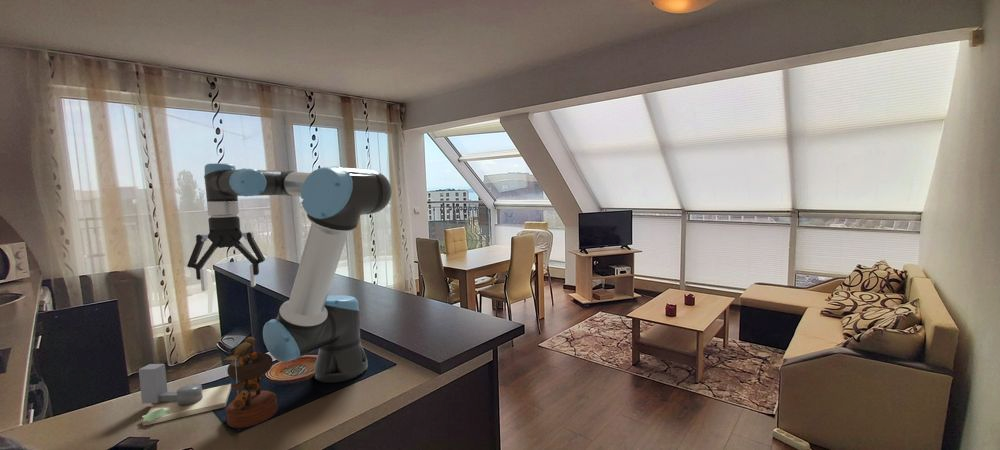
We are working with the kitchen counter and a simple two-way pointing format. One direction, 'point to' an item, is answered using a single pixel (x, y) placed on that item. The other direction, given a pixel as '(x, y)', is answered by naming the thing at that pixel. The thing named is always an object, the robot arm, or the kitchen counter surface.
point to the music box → (249, 386)
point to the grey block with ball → (165, 387)
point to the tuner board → (188, 406)
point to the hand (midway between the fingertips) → (229, 287)
